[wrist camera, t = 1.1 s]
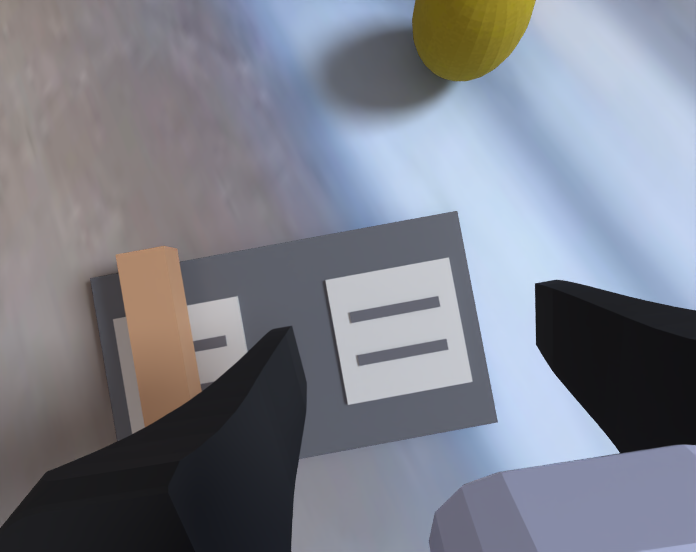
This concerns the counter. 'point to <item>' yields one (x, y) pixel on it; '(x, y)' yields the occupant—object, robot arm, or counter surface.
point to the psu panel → (334, 330)
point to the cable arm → (158, 330)
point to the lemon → (468, 34)
